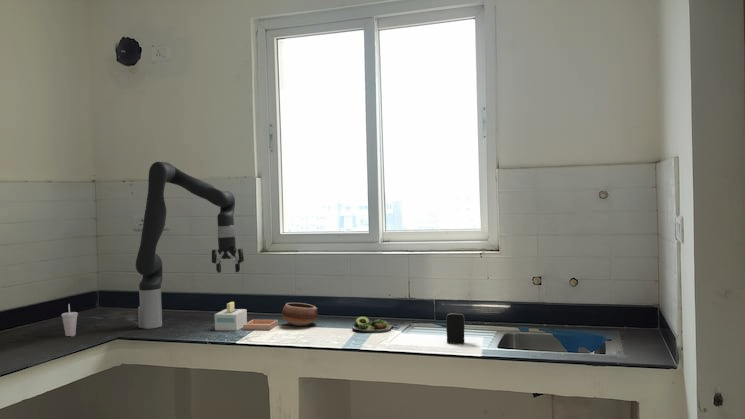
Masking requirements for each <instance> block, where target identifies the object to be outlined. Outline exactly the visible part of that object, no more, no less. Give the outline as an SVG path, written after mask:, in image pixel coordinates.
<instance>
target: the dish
mask: <svg viewBox="0 0 745 419" xmlns="http://www.w3.org/2000/svg"><path fill="white" fill-rule="evenodd" d="M278 325H279V320H278V319H251V320H249V321H247V323H246V324H244V325H243V327H242V328H243V331H271V330H273V329H274V328H276V327H277V326H278Z"/></svg>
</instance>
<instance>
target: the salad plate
mask: <svg viewBox="0 0 745 419" xmlns="http://www.w3.org/2000/svg"><path fill="white" fill-rule="evenodd" d="M396 326H399V324H397V323H393V322H388V321H387V320H384V319H379V318H378V319H374V320H373V321H372V320H370V318H368V317H367V316H359V317H358V316H357V317H356V319H355V323H354V324H353V325H352V328H351V330H352V331H353V332H355V333H359V332H360V333H361V334H370V333H371V334H372V333H373V334H374V333H386V332H389V331H391V329H392V328H393V327H396Z"/></svg>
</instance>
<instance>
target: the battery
mask: <svg viewBox="0 0 745 419" xmlns="http://www.w3.org/2000/svg"><path fill="white" fill-rule="evenodd" d="M465 323H466V322H465V315H464V314H463V313H462V312H461V313H460V312H451V313H450V312H449V313H447V315H446V318H445V326H446V327H445V329H446V343H448V344H459V345H460V344H465Z"/></svg>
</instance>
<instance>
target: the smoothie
mask: <svg viewBox="0 0 745 419" xmlns="http://www.w3.org/2000/svg"><path fill="white" fill-rule="evenodd" d="M70 305H71V304H70V303H68V305H67V306H68V312H63V313H61V318H62V323H63V330H64V334H65V337H66V336H71V337H75V336H76V333H77V332H76V330H77V322H78V321H77V320H78V315H79V313H78V312H76V311H71V306H70Z"/></svg>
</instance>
